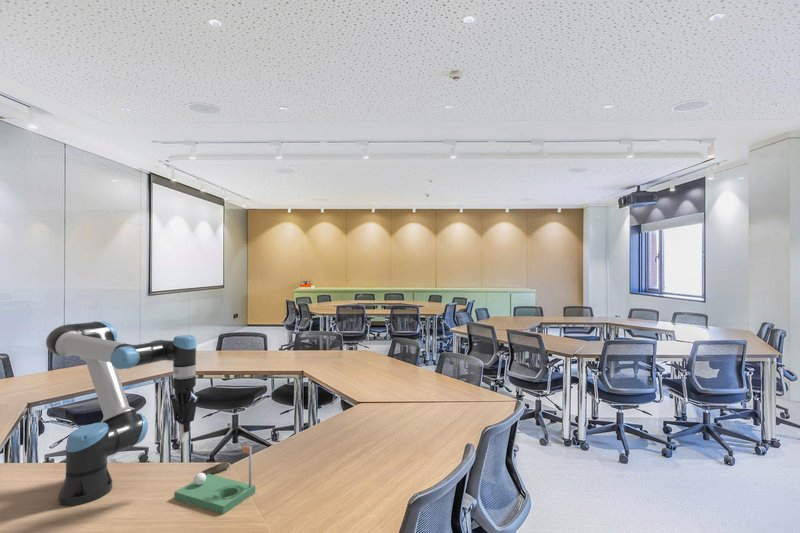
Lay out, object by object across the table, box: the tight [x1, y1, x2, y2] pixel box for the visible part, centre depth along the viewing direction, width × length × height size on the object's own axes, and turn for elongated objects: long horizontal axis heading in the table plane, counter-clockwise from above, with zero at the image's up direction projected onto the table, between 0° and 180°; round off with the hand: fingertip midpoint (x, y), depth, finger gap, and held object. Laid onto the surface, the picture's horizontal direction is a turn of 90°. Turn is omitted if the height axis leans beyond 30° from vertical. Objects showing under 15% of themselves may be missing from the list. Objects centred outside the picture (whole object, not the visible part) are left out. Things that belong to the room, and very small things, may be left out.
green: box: [173, 445, 256, 515], centre depth 137 cm, size 24×14×16 cm, turn 66°
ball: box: [193, 472, 206, 485], centre depth 140 cm, size 4×4×4 cm
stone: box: [199, 461, 231, 475], centre depth 154 cm, size 13×5×2 cm, turn 143°
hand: (183, 440), depth 144 cm, fingers closed
